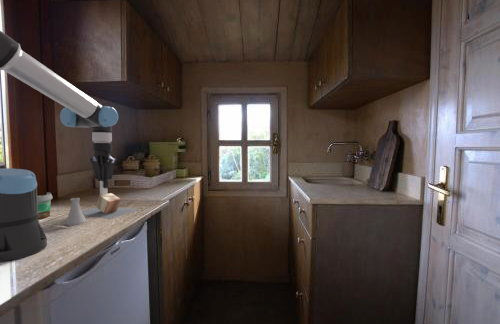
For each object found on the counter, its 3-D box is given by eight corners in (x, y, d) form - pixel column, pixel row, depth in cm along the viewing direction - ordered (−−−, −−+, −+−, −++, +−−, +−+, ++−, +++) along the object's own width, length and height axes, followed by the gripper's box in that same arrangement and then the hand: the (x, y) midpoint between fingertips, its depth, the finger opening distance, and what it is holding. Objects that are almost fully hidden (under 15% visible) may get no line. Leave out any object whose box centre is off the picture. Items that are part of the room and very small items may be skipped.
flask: (68, 228, 93) (67, 201, 92) (61, 224, 98) (60, 198, 97) (90, 223, 99) (89, 198, 98) (83, 220, 103) (82, 195, 103)
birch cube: (96, 207, 112) (105, 213, 110) (99, 195, 111) (109, 201, 109) (107, 204, 118) (117, 210, 116) (111, 192, 117) (120, 198, 115)
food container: (31, 224, 97) (29, 198, 96) (18, 223, 98) (16, 198, 98) (61, 215, 109) (60, 192, 108) (49, 214, 110) (48, 192, 110)
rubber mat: (109, 220, 103) (109, 218, 103) (71, 214, 110) (71, 213, 110) (139, 210, 118) (139, 209, 118) (104, 206, 125) (104, 205, 125)
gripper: (120, 142, 114) (121, 194, 115) (99, 142, 118) (100, 192, 120) (106, 142, 107) (107, 198, 108) (83, 142, 111) (85, 195, 113)
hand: (103, 195), depth 114 cm, fingers closed
